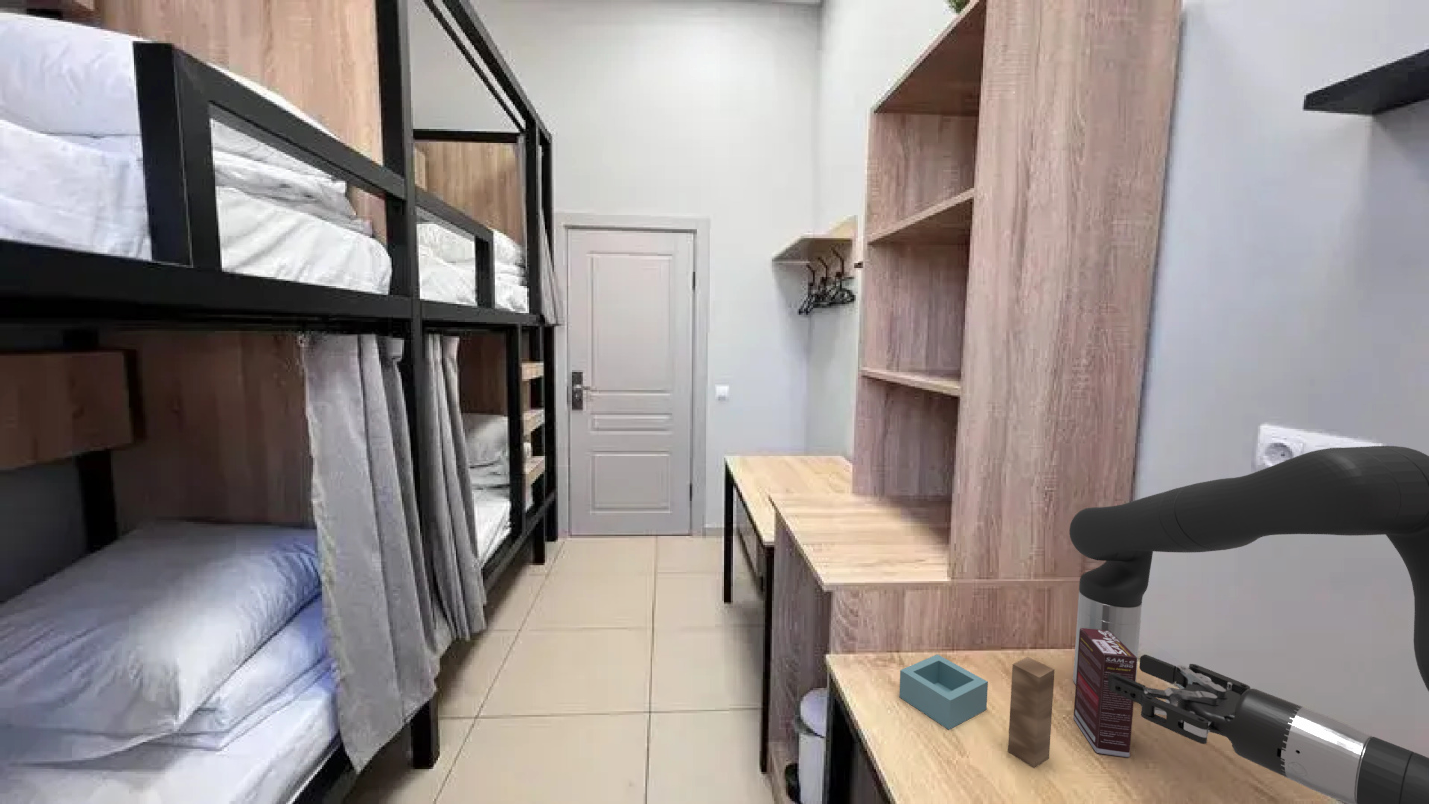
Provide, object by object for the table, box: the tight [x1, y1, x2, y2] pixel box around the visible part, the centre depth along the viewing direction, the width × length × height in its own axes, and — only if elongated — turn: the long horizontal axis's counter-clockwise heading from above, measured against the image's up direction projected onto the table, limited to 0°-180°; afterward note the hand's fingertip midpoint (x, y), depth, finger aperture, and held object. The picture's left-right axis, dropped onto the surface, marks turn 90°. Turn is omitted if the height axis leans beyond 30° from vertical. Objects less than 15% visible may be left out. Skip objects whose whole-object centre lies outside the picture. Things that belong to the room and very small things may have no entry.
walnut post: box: [1007, 656, 1055, 769], centre depth 84 cm, size 4×4×14 cm
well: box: [898, 653, 989, 731], centre depth 97 cm, size 10×10×5 cm
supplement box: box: [1073, 628, 1138, 758], centre depth 88 cm, size 9×5×16 cm, turn 168°
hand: (1125, 670), depth 73 cm, fingers open, 8 cm apart
